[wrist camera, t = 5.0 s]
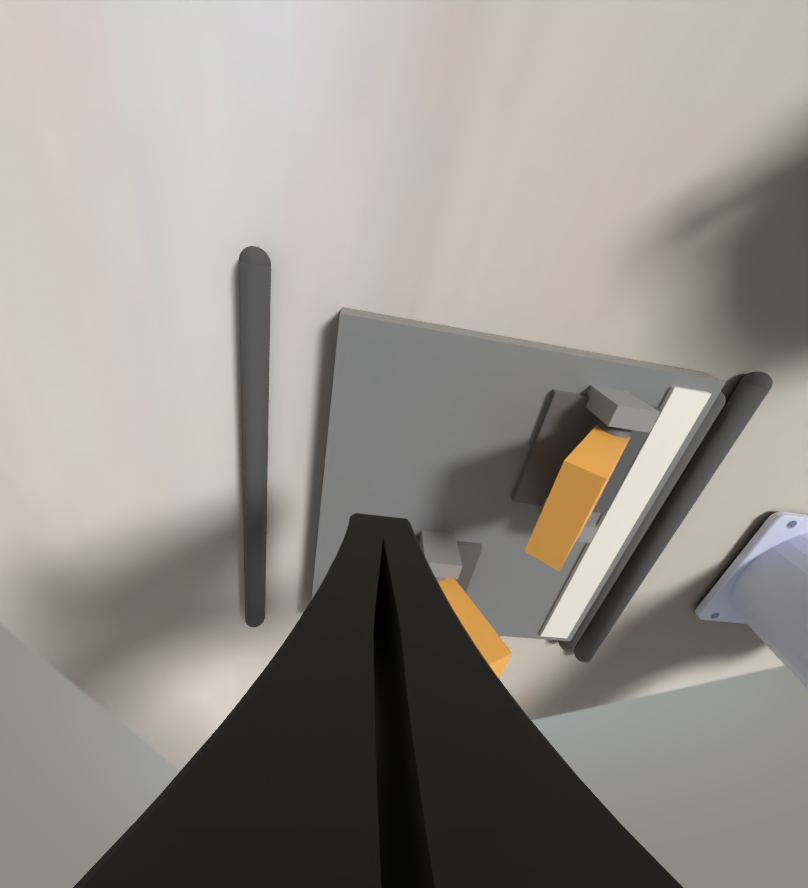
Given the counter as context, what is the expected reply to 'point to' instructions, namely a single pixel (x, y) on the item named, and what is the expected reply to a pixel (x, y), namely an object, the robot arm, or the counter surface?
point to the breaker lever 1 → (476, 626)
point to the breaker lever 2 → (576, 493)
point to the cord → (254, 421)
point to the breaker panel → (496, 456)
